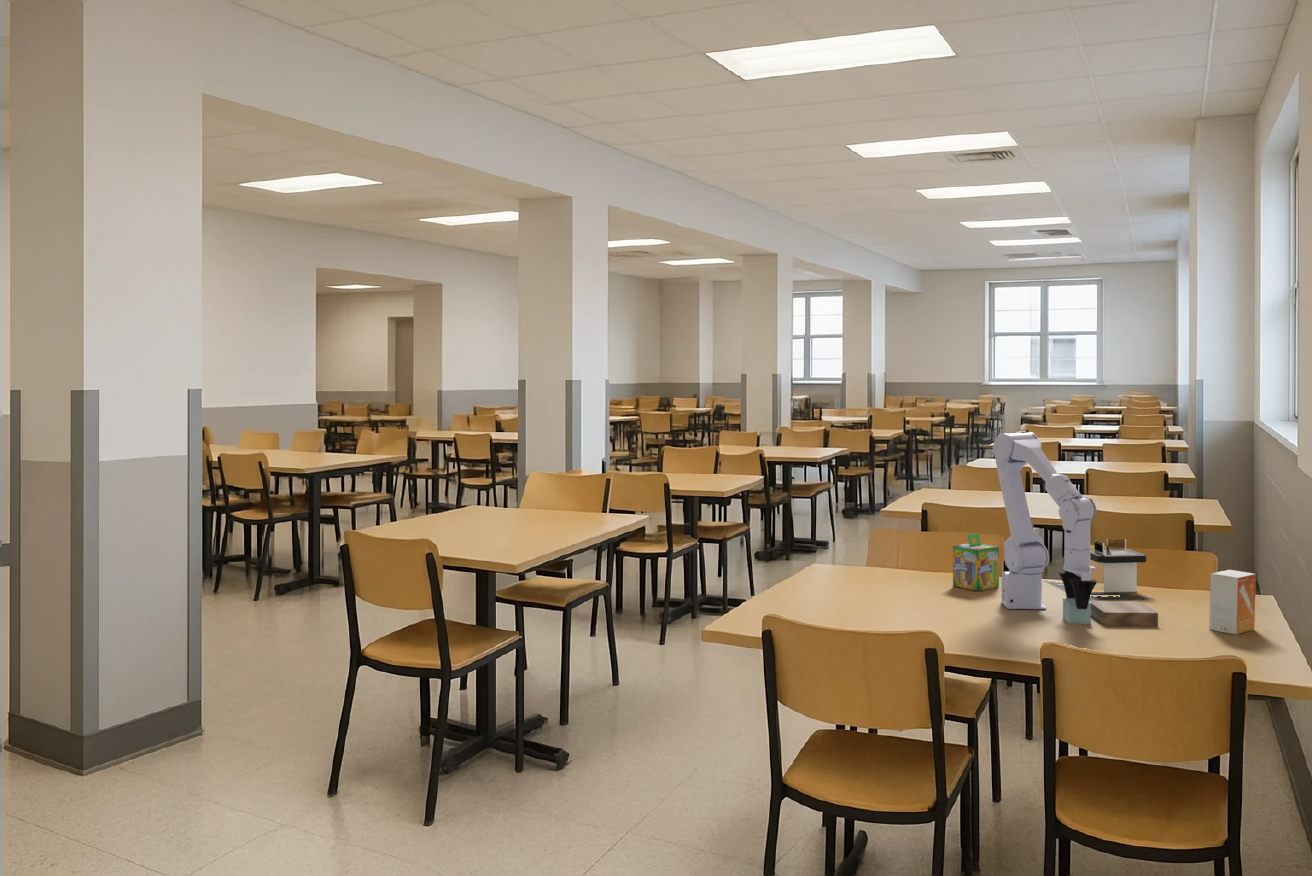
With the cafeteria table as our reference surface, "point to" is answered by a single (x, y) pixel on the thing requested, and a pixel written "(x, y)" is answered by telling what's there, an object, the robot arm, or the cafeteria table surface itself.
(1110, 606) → the walnut base
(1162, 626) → the cafeteria table surface
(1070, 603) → the teal cube
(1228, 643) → the cafeteria table surface
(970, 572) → the chalk box
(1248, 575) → the small box
